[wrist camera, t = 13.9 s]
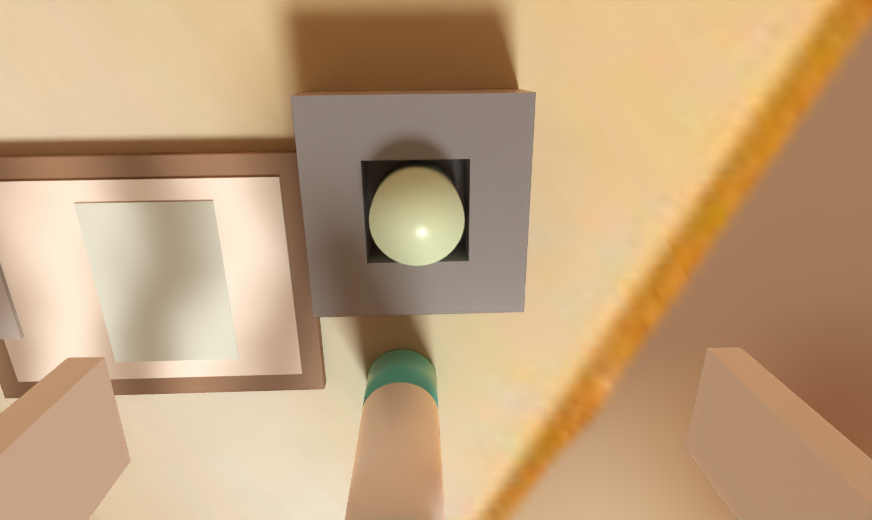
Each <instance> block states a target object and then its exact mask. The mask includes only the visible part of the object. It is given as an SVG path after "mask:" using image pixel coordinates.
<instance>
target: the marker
mask: <svg viewBox="0 0 872 520" xmlns="http://www.w3.org/2000/svg"><path fill="white" fill-rule="evenodd" d="M345 520H445V511H444V495H443V479H442V463H441V446H440V430H439V414H438V398H437V382H436V373H435V369H434V367H433V365H432V364H431V362H430V361H429V360H428V359H427V358H426V357H425V356H423V355H422V354H420V353H418V352H415V351H412V350H407V349H397V350H392V351H389V352H386V353H384V354H382V355H381V356H379V357H378V358H377V359H376V360H375V361H374V362H373V364H372V365H371V367H370V369H369V372H368V379H367V385H366V391H365V397H364V404H363V410H362V416H361V422H360V429H359V435H358V441H357V447H356V454H355V460H354V466H353V472H352V479H351V485H350V491H349V497H348V504H347V510H346V516H345Z"/></svg>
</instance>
